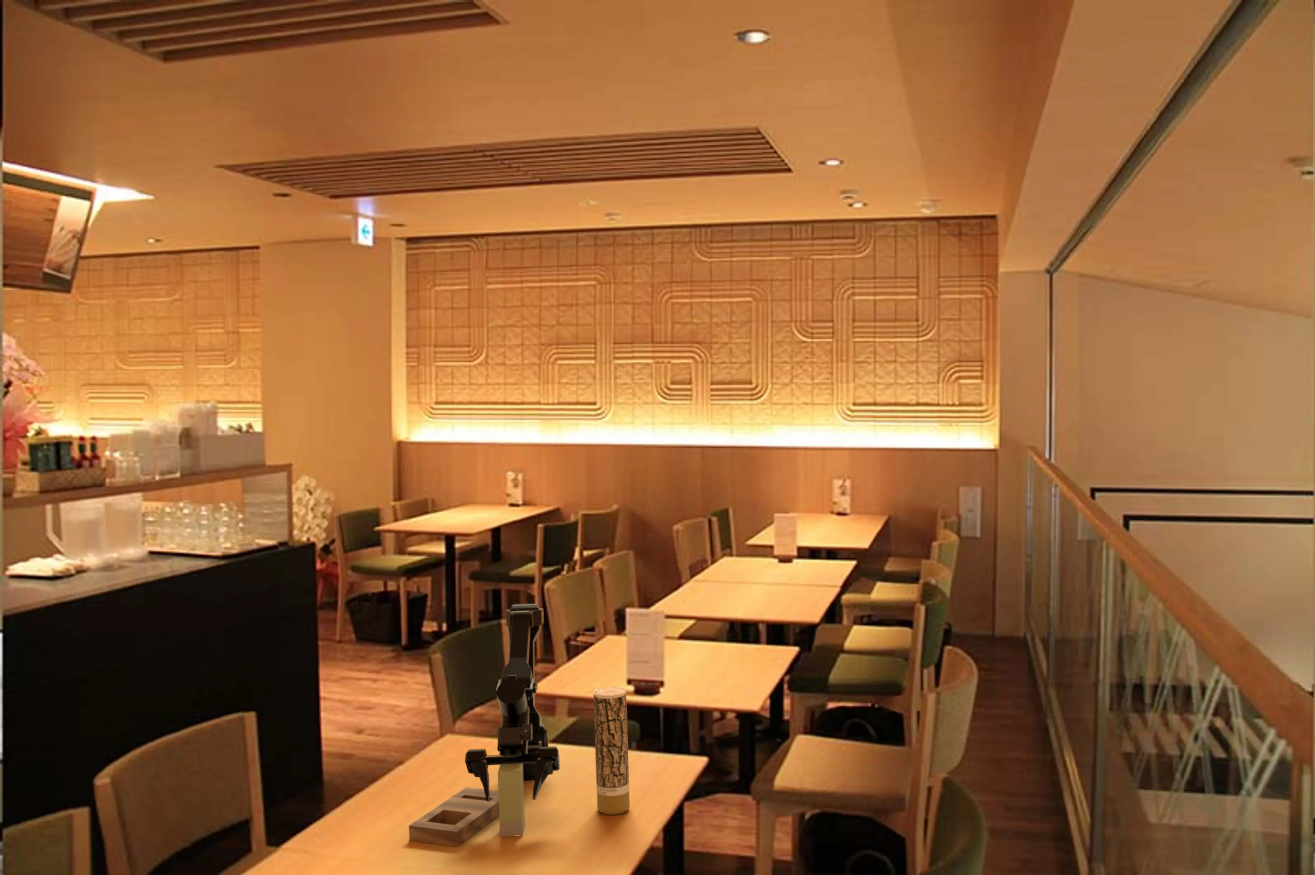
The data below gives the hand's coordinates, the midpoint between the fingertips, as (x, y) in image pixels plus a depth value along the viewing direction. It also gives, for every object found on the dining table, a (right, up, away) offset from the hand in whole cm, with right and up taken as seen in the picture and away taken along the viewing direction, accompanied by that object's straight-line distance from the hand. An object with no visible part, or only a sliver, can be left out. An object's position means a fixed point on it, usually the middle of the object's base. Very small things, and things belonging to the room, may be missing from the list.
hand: (510, 800), depth 221 cm
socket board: (-11, -7, +7) cm, 15 cm away
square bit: (0, -7, +2) cm, 7 cm away
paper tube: (+20, -6, +12) cm, 24 cm away
